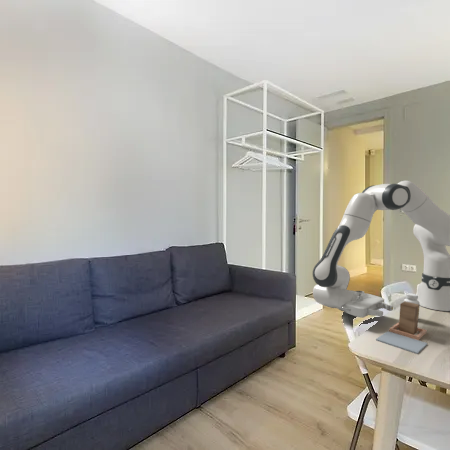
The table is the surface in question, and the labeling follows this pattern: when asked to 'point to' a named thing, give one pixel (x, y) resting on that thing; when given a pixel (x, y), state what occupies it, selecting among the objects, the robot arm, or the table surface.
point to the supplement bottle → (412, 299)
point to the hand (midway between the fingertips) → (387, 311)
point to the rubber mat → (402, 342)
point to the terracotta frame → (422, 333)
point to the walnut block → (408, 317)
